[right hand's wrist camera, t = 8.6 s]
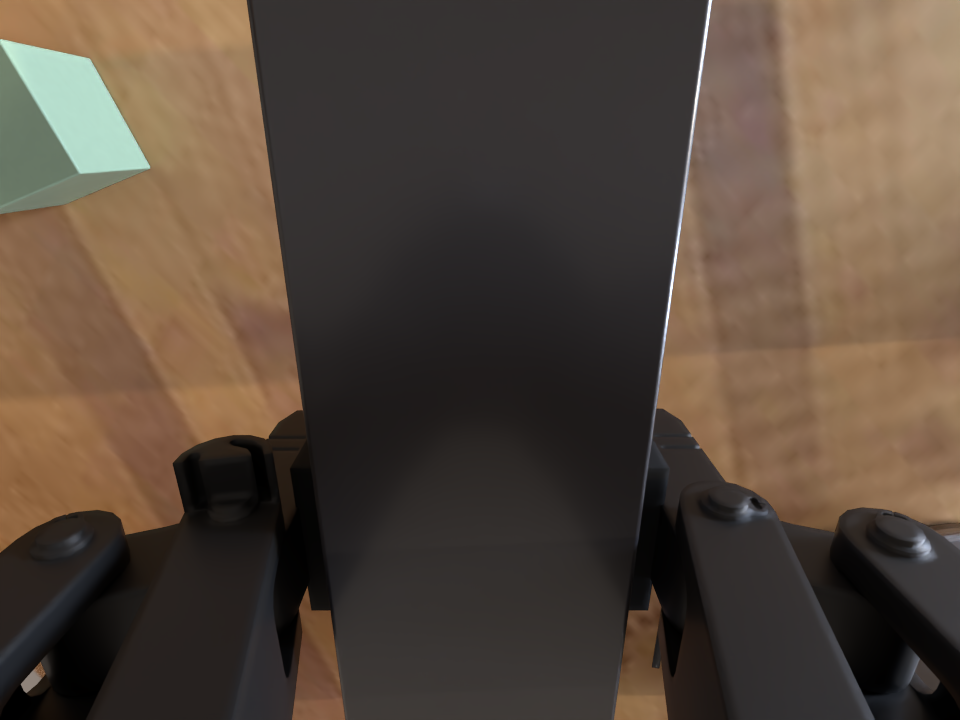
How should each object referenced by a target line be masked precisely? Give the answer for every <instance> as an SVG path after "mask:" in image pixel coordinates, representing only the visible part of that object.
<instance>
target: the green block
mask: <svg viewBox="0 0 960 720" xmlns="http://www.w3.org/2000/svg"><path fill="white" fill-rule="evenodd" d="M148 169H150V165H149V164H148V162H147V160H146V158H145V157H144V155H143V153H142V151H141V149H140V148H139V146H138V144H137V142H136V140H135V139H134V137H133V135H132V133H131V131H130V130H129V128H128V126H127V124H126V123H125V121H124V119H123V117H122V115H121V114H120V112H119V110H118V108H117V106H116V105H115V103H114V101H113V99H112V97H111V96H110V94H109V92H108V90H107V88H106V87H105V85H104V83H103V81H102V80H101V78H100V76H99V74H98V72H97V71H96V69H95V67H94V65H93V63H92V62H91V60H90V59H89V58H86V57H81V56H76V55H72V54H67V53H63V52H58V51H53V50H49V49H44V48H39V47H35V46H30V45H26V44H21V43H16V42H12V41H7V40H3V39H0V214H4V213H11V212H17V211H24V210H31V209H38V208H44V207H51V206H58V205H64V204H67V203H70V202H72V201H74V200H77V199H79V198H81V197H84V196H86V195H89V194H91V193H93V192H96V191H98V190H101V189H103V188H105V187H108V186H110V185H112V184H115V183H117V182H120V181H122V180H124V179H127V178H129V177H131V176H134V175H136V174H139V173H141V172H143V171H146V170H148Z"/></svg>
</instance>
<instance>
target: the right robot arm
mask: <svg viewBox="0 0 960 720" xmlns="http://www.w3.org/2000/svg"><path fill="white" fill-rule="evenodd" d="M173 467H174V471H175V475H176V479H177V483H178V487H179V491H180V495H181V499H182V503H183V507H184V512H185V513H184V515H183V517H182V519H181V521H180V523H179V524H175V525H171V526H167V527H163V528H158V529H153V530H148V531H143V532H138V533H133V534H128V535H125V532H124V529H123V526H122V522H121V519H120V518H118V517H117V516H116V515H115V514H114V513H112V512H106V511H100V510H94V511H83V512H75V513H70V514H68V515H63V516H60V517H56V518H54V519H52V520H51V521H49V522H46V523H44V524H42V525H40V526H37V527H35V528H34V529H32V530H30V531H29V532H27V533H26V534H24V535H23V536H21V537H20V538H18V539H17V540H15V541H14V542H13V543H12V544H11V545H9V546H8V547H7V548H6V549H4V550H3V551H2V552H1V553H0V720H292V715H293V706H294V698H295V690H296V681H297V673H298V664H299V656H300V648H301V639H302V627H301V620H300V613H299V606H300V604H301V601H302V598H303V596H304V593H305V591H306V588H307V586H308V591H309V597H310V604H311V610H330V603H329V596H328V589H327V581H326V574H325V567H324V560H323V552H322V545H321V538H320V530H319V523H318V516H317V509H316V501H315V494H314V487H313V480H312V472H311V465H310V458H309V450H308V443H307V436H306V429H305V421H304V414H303V411H296V412H294V413H293V414H291V415H290V416H288V417H286V418H285V419H283V420H282V421H280V422H279V423H278V424H277V426H276V427H275V428H274V430H273V431H272V433H271V434H270V435H269V439H266V440H265V439H264V438H260V437H256V436H252V435H232V436H227V437H221V438H216V439H212V440H210V441H207V442H204V443H201V444H198V445H196V446H194V447H192V448H191V449H189V450H187V451H186V452H184V453H182V454H181V455H180V456H179V457H178V458H177V459H176V460H175V461H174V463H173ZM652 584H653V586H654V589H655V592H656V594H657V597H658V599H659V602H660V604H661V613H660V620H659V626H658V632H657V638H656V644H655V650H654V656H653V663H652V667H653V668H659V667H660V661H661V663H662V671H663V680H664V688H665V697H666V705H667V713H668V720H960V523H952V524H941V525H933V526H926V525H925V524H922V523H920V522H918V521H915V520H913V519H911V518H909V517H908V516H906V515H903V514H900V513H896V512H894V513H893V512H892V511H888V510H883V509H873V508H857V509H851V510H847V511H846V512H845V513H844V514H842V515H841V516H840V517H839V521H838V524H837V527H836V530H835V533H834V532H829V531H824V530H819V529H814V528H809V527H804V526H799V525H794V524H790V523H787V522H783V521H780V520H779V518H778V516H777V514H776V512H775V511H774V509H773V508H772V507H771V506H770V504H769V503H768V502H767V501H766V500H765V499H763V498H762V497H760V496H759V495H757V494H756V493H755V492H753V491H751V490H748V489H746V488H744V487H741V486H739V485H736V484H732V483H727V482H725V480H724V479H723V478H722V476H721V475H720V473H719V472H718V471H717V469H716V468H715V467H714V465H713V464H712V462H711V461H710V460H709V458H708V457H707V456H706V454H705V453H704V451H703V450H702V449H699V445H698V443H697V442H696V440H695V439H694V438H693V437H691V434H690V432H689V431H688V429H687V428H686V427H685V425H684V424H683V423H682V421H681V420H679V419H678V418H676V417H675V416H673V415H672V414H670V413H668V412H667V411H665V410H664V409H656V415H655V422H654V429H653V436H652V444H651V451H650V458H649V466H648V473H647V480H646V488H645V495H644V502H643V510H642V517H641V524H640V532H639V539H638V546H637V553H636V561H635V568H634V575H633V583H632V590H631V597H630V605H629V610H648V608H649V601H650V595H651V588H652ZM40 662H41V664H42V666H43V668H44V671H45V673H46V675H45V676H44V677H43V678H42V679H41V680H40V682H39V683H38V684H37V685H36V686H35V687H33V688H32V689H31V690H30V691H29V692H27V693H25V692H24V691H23V688H22V686H21V683H22V682H23V681H24V680H25V678H26V677H27V676H28V675H29V674H30V673H31V672H32V671H33V670H34V668H35V667H36V666H37V665H38V664H39V663H40Z"/></svg>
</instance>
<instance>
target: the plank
mask: <svg viewBox="0 0 960 720" xmlns="http://www.w3.org/2000/svg"><path fill="white" fill-rule="evenodd" d="M711 5H712V0H247V6H248V14H249V21H250V28H251V35H252V43H253V50H254V57H255V65H256V72H257V79H258V86H259V94H260V101H261V108H262V115H263V123H264V130H265V137H266V145H267V152H268V159H269V166H270V174H271V181H272V188H273V196H274V203H275V210H276V217H277V225H278V232H279V239H280V247H281V254H282V261H283V268H284V276H285V283H286V290H287V297H288V305H289V312H290V319H291V327H292V334H293V341H294V348H295V356H296V363H297V370H298V378H299V385H300V392H301V399H302V407H303V414H304V421H305V429H306V436H307V443H308V450H309V458H310V465H311V472H312V480H313V487H314V494H315V501H316V509H317V516H318V523H319V530H320V538H321V545H322V552H323V560H324V567H325V574H326V581H327V589H328V596H329V603H330V611H331V618H332V625H333V632H334V640H335V647H336V654H337V662H338V669H339V676H340V683H341V691H342V698H343V705H344V712H345V720H614V714H615V707H616V700H617V692H618V685H619V678H620V671H621V663H622V656H623V649H624V641H625V634H626V627H627V619H628V612H629V605H630V597H631V590H632V583H633V575H634V568H635V561H636V553H637V546H638V539H639V532H640V524H641V517H642V510H643V502H644V495H645V488H646V480H647V473H648V466H649V458H650V451H651V444H652V436H653V429H654V422H655V415H656V407H657V400H658V393H659V385H660V378H661V371H662V363H663V356H664V349H665V341H666V334H667V327H668V319H669V312H670V305H671V297H672V290H673V283H674V276H675V268H676V261H677V254H678V246H679V239H680V232H681V224H682V217H683V210H684V202H685V195H686V188H687V180H688V173H689V166H690V159H691V151H692V144H693V137H694V129H695V122H696V115H697V107H698V100H699V93H700V85H701V78H702V71H703V63H704V56H705V49H706V41H707V34H708V27H709V20H710V12H711Z"/></svg>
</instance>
